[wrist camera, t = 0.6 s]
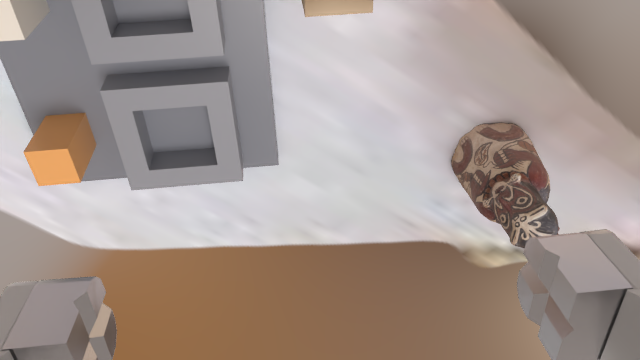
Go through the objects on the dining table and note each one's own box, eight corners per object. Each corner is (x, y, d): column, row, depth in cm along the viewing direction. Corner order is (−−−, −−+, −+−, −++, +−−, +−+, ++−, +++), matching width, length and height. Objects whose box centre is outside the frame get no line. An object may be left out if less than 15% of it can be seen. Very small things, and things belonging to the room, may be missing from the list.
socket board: (-57, -95, 32) (-109, -73, 28) (252, -110, 34) (252, -92, 29) (57, 176, 45) (34, 223, 40) (278, 158, 46) (281, 201, 42)
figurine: (501, 106, 45) (566, 192, 36) (541, 150, 49) (611, 239, 39) (436, 157, 48) (481, 249, 39) (479, 196, 52) (530, 289, 42)
